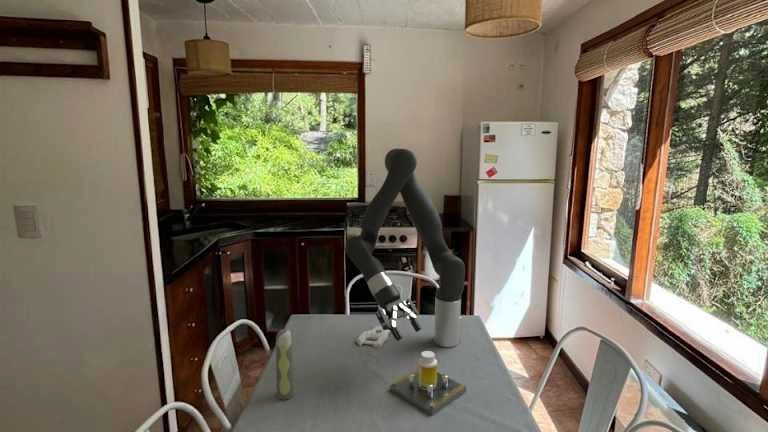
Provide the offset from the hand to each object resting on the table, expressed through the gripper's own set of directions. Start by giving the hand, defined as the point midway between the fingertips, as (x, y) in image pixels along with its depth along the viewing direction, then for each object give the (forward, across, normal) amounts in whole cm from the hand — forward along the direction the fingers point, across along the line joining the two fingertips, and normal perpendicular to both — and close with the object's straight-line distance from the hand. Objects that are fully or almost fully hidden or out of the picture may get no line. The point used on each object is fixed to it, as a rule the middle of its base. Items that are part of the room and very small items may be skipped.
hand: (409, 334), depth 125 cm
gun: (-9, +13, +31) cm, 34 cm away
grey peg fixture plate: (+16, 0, +5) cm, 17 cm away
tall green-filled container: (-3, -32, +24) cm, 40 cm away
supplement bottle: (+15, 0, +4) cm, 16 cm away
